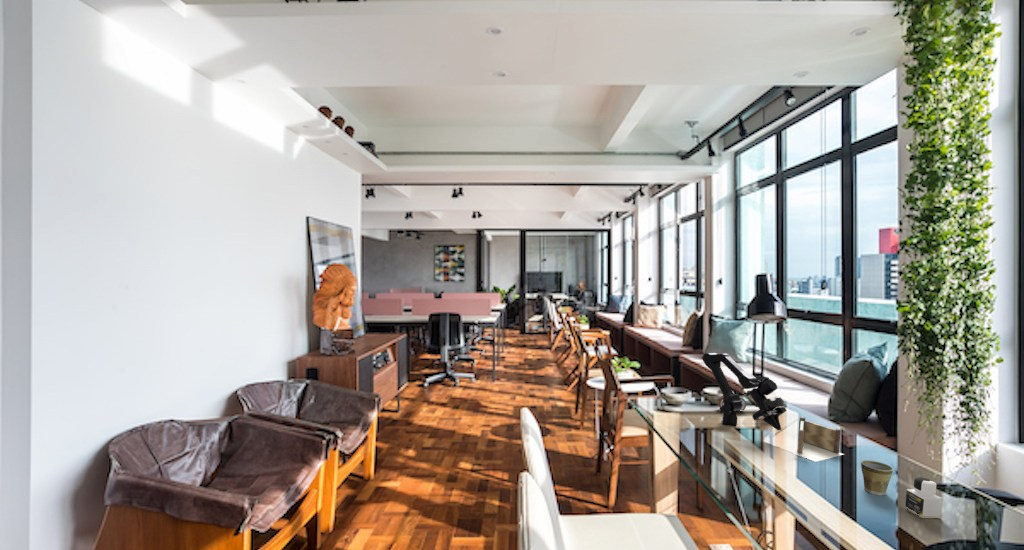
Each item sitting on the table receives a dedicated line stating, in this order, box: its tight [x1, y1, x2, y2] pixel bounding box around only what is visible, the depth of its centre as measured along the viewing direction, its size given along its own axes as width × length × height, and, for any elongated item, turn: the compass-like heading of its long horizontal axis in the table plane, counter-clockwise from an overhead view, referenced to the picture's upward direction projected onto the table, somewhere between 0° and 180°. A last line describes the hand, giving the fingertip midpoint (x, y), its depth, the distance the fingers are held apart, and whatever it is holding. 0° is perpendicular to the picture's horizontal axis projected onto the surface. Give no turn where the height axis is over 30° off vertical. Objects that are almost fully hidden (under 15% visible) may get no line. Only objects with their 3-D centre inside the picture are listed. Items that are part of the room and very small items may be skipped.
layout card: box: [792, 441, 845, 463], centre depth 243 cm, size 28×22×1 cm
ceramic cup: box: [860, 459, 894, 496], centre depth 200 cm, size 13×10×10 cm
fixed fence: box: [797, 416, 842, 454], centre depth 244 cm, size 19×2×11 cm, turn 30°
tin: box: [717, 395, 747, 411], centre depth 298 cm, size 15×3×8 cm, turn 84°
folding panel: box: [797, 421, 804, 453], centre depth 242 cm, size 18×2×10 cm, turn 150°
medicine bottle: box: [904, 476, 943, 517], centre depth 182 cm, size 7×7×12 cm
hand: (779, 429), depth 248 cm, fingers closed
